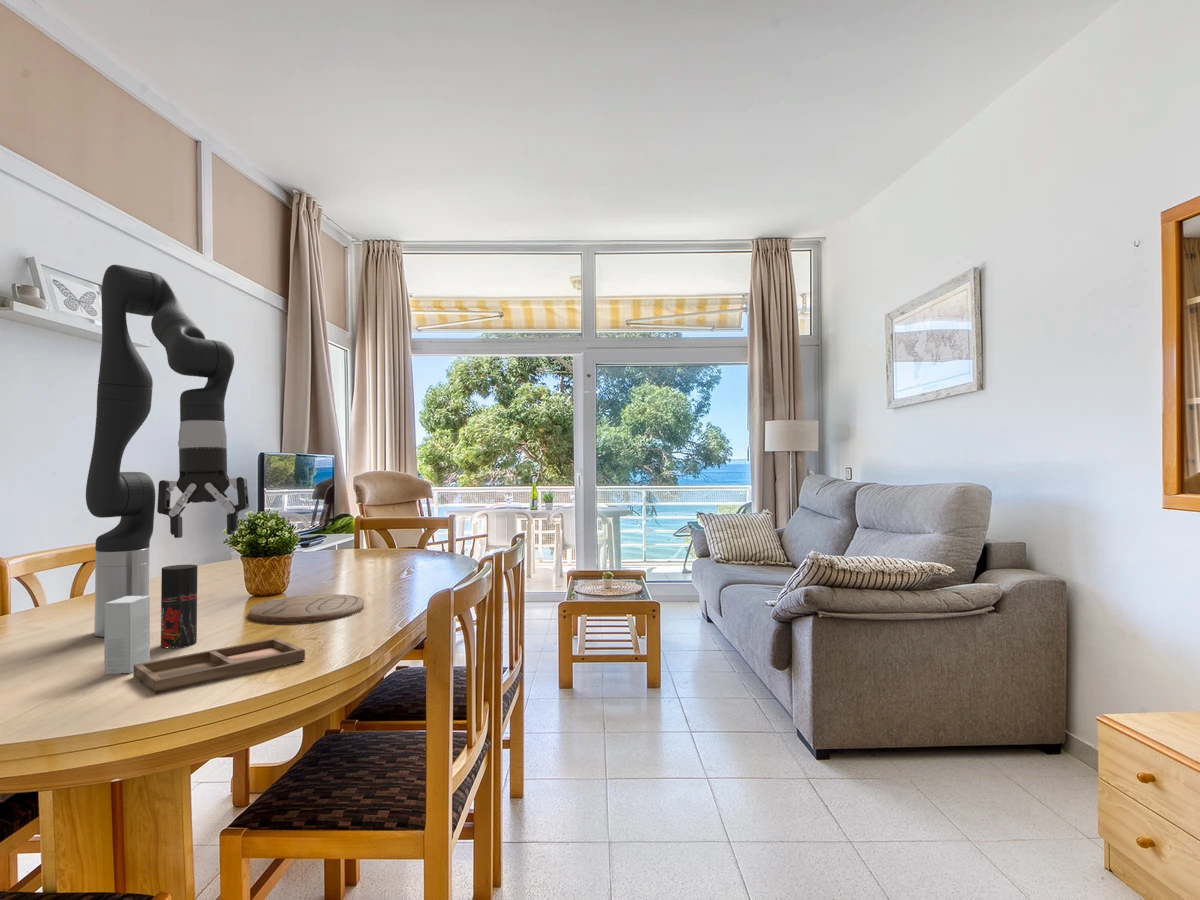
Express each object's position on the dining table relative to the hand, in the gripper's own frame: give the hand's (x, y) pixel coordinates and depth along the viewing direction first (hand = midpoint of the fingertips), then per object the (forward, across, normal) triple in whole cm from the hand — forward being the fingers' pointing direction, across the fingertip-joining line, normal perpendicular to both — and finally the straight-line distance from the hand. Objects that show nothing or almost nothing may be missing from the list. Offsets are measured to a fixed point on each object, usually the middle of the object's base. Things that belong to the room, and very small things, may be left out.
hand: (204, 536), depth 122 cm
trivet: (+21, -12, -37) cm, 45 cm away
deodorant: (+21, +8, -13) cm, 26 cm away
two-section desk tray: (+23, -4, +7) cm, 24 cm away
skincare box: (+22, +12, +2) cm, 25 cm away
